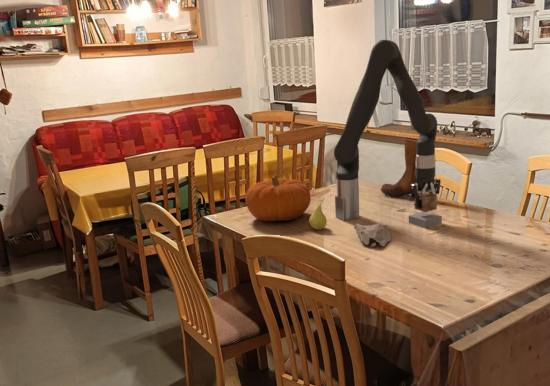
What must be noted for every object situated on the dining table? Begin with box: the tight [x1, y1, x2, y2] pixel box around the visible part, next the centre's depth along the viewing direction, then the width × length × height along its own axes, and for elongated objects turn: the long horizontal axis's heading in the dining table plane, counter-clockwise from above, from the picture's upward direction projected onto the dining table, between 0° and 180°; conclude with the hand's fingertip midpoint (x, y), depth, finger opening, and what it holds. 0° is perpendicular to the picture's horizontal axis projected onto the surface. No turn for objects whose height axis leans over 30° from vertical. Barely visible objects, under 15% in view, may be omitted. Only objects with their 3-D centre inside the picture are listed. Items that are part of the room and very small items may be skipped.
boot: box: [380, 139, 428, 201], centre depth 256 cm, size 25×9×27 cm, turn 39°
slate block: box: [408, 211, 443, 229], centre depth 221 cm, size 9×9×4 cm
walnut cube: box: [414, 192, 438, 212], centre depth 220 cm, size 6×6×6 cm
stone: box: [353, 222, 392, 248], centre depth 206 cm, size 15×8×15 cm
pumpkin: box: [244, 173, 312, 222], centre depth 238 cm, size 28×28×20 cm
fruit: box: [308, 198, 328, 231], centre depth 222 cm, size 7×8×12 cm
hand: (425, 206), depth 220 cm, fingers closed on walnut cube, 6 cm apart
